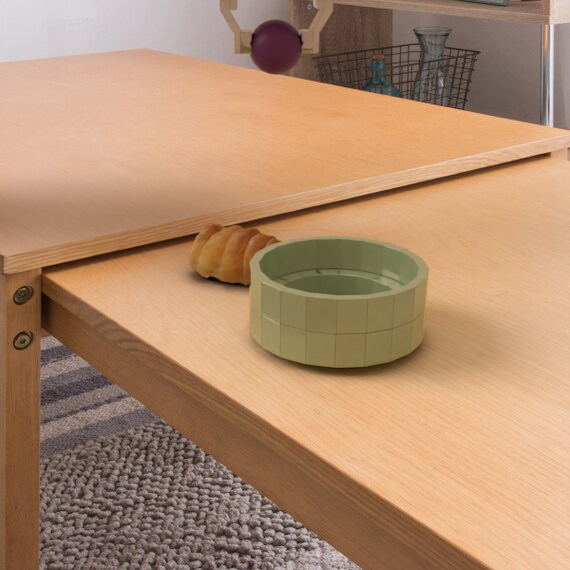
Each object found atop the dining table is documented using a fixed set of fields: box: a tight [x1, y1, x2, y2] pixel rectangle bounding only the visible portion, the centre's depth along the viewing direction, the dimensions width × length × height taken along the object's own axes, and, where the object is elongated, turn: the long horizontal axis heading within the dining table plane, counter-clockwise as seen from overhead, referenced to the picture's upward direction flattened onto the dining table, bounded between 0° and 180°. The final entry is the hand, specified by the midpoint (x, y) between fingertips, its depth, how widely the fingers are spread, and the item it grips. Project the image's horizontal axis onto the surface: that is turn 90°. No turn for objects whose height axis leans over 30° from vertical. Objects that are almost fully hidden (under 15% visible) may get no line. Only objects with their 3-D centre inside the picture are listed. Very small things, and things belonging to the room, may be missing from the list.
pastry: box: [188, 222, 283, 286], centre depth 77 cm, size 9×7×4 cm
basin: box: [248, 235, 430, 369], centre depth 66 cm, size 12×12×6 cm
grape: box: [249, 18, 303, 76], centre depth 76 cm, size 4×4×4 cm
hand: (275, 53), depth 76 cm, fingers closed on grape, 4 cm apart
